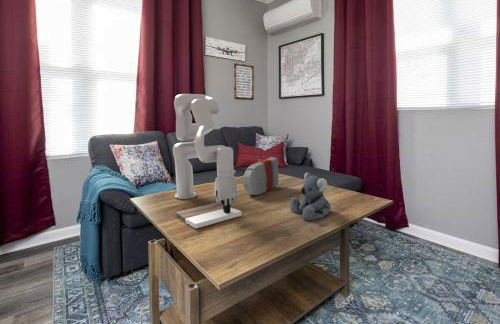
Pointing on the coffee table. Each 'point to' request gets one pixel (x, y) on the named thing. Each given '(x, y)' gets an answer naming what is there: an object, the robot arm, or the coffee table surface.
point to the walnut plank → (198, 210)
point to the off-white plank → (212, 217)
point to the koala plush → (312, 199)
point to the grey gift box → (261, 176)
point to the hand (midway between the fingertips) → (227, 212)
